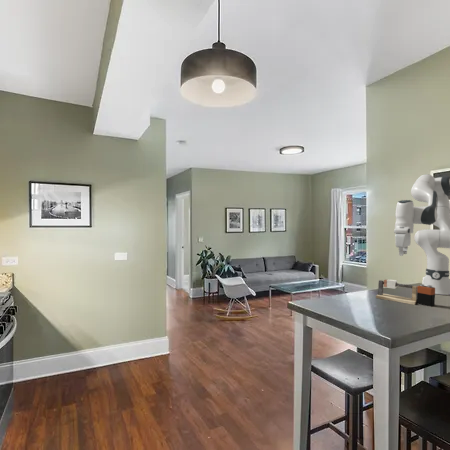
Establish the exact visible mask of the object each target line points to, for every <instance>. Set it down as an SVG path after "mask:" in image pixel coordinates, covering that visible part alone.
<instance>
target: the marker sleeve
mask: <svg viewBox="0 0 450 450" xmlns="http://www.w3.org/2000/svg"><path fill="white" fill-rule="evenodd" d="M386 280H387V287H386V289H387V288H388V289H397V288H398V286H396V283H398V280H396V279H386Z"/></svg>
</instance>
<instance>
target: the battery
mask: <svg viewBox="0 0 450 450" xmlns="http://www.w3.org/2000/svg"><path fill="white" fill-rule="evenodd" d="M416 287H417V303H416V304H418V305H422V306H427V307H428V306H429V307H434V306H435V301H436V300H435V299H436V294H435V288H434V287H432V286H431V285H427V286H424V285H423V284H422V283H421V284H420V285H417V286H416Z"/></svg>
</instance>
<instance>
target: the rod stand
mask: <svg viewBox="0 0 450 450" xmlns="http://www.w3.org/2000/svg"><path fill="white" fill-rule="evenodd" d="M387 280H388V279H384V280H383V279H381V280H380V279H379V280H378V286H377V287H378V288H377V294H376V295H375V299H379V300H385V301H389V302H390V301H391V302H396V303H402V304H403V303H404V304H408V305H412V306H413V305H414V306H415V305H416V304H418V303H417V286H416V285H411V284H404V283H398V282H397V283H396V286H397V287H400V288H407V289H411V297H408V296H400V295H393V294H388V293H384V288H387Z"/></svg>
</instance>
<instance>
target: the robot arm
mask: <svg viewBox="0 0 450 450" xmlns="http://www.w3.org/2000/svg"><path fill="white" fill-rule="evenodd" d="M410 194H411V196H412V198H413V199H414V201H415V200H416V201H418V202H422V203H426V204H427V205H426V206H425V205H424V206H415V205H414V204H415V203H414V201H413V200H412V199H411V200H410V199H401V200H398V201H397V203H396V206H395V213H394V214H395V223H394V229H393V233H394V234H395V235H394V241H395V247H396V248H398V256H401V257H402V256H404V255H407V254H408V248H409V246H411V234H414V229H415V228H414V225H426V226H427V225H429V226H431V225H433V226H435V227H437V228H438V229H433V228H432V229H429V228H428V229H427V228H426V229H425V228H424V229H419V230H417V231H416V232H415V234H414V237H413V238H414V242H415V244H417V245H418V246H419V247H421V249H422V250H423V252H424V253H425V255H426V269H425V276H423V277H422V281H421V282H422V283H421V284H423V285H424V286H427V285H431V286H432V287H434V288H435V295H444V296H450V268H449V267H450V266H449V265H450V264H449V263H450V259H449V257H448V256H447V255H446V254H445V253H442V252H440V251H439V250H438V249H437V248H444V249H450V199H449V196H450V176H449V175H448V176H447V175H446V176H443V175H442V176H439V177H434V176H433V175H431V174H427V173H426V174H422V175H420V176H419V177H418V178H417V179H416V180H415V181H414V183H413V185H412V187H411V189H410Z"/></svg>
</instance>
